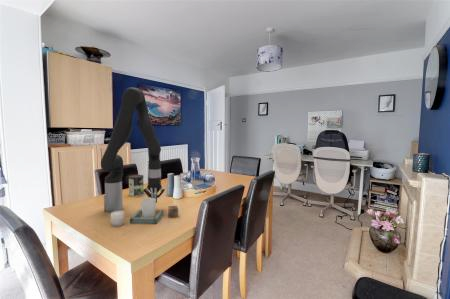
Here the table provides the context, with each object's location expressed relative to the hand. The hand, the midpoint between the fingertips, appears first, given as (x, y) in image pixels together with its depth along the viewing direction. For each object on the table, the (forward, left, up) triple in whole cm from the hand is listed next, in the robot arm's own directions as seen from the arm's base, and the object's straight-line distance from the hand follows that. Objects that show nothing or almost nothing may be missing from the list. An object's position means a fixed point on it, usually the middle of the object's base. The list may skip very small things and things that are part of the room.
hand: (154, 204), depth 134 cm
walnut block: (+13, -8, -4) cm, 16 cm away
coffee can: (-24, +30, -4) cm, 38 cm away
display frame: (0, -12, -4) cm, 13 cm away
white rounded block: (-13, -20, -4) cm, 24 cm away
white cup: (+1, -11, -4) cm, 12 cm away
